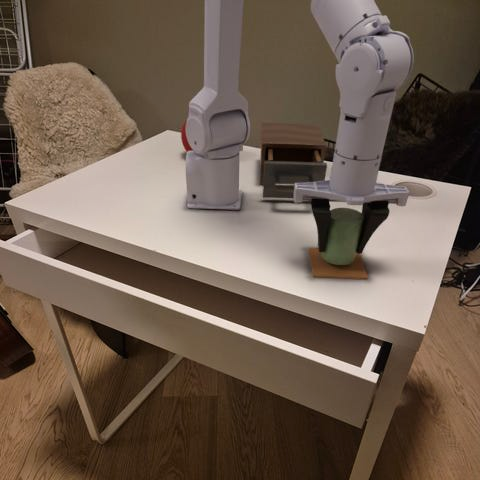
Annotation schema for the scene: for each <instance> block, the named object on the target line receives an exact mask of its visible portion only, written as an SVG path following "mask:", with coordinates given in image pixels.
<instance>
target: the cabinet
mask: <svg viewBox="0 0 480 480" xmlns="http://www.w3.org/2000/svg"><path fill="white" fill-rule="evenodd" d="M260 134H261V136H260V137H261V138H260V157H259V185H260V186H263V183H264V165H265V161H267V153H268V147H270V148H303V149H318V152H319V155H320V159H321V163H325V162H324V161H325V160H324V159H325V155H326V148H327V144H326V141H325V138H324V136H323V133H322V130H321V128H320V124H311V123H310V124H309V123H308V124H307V123H279V122H278V123H277V122H276V123H275V122H273V123H272V122H271V123H270V122H262V123H261V133H260Z"/></svg>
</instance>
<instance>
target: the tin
mask: <svg viewBox="0 0 480 480" xmlns="http://www.w3.org/2000/svg"><path fill="white" fill-rule="evenodd" d="M330 211H331V218H330V221H329V225H328V229H327V234H326V244H325V250H324V252H322V254H321V256H322V258H323V259H324V260H325V261H327V262H329V263H331V264H335V265H348V264H351V263H352V262H353V261H354V259H355V255H356V251H357V247H358V243H359V238H360V234H361V230H362V226H363V221H364V215H363V214H362V211H359V210H357V209H354V208H350V207H336V208H332V209H330Z"/></svg>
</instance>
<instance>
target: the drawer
mask: <svg viewBox="0 0 480 480" xmlns="http://www.w3.org/2000/svg"><path fill="white" fill-rule="evenodd" d="M327 168H328V164H327V162H323V163H321V159H320V155H319V152H318V149H303V148H270V147H268V153H267V161H265V165H264V183H263V185H262V189H263V190H262V198H271V199H272V198H273V199H274V198H275V199H294V186H295V183H307V182H317V181H326V176H327Z"/></svg>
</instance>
